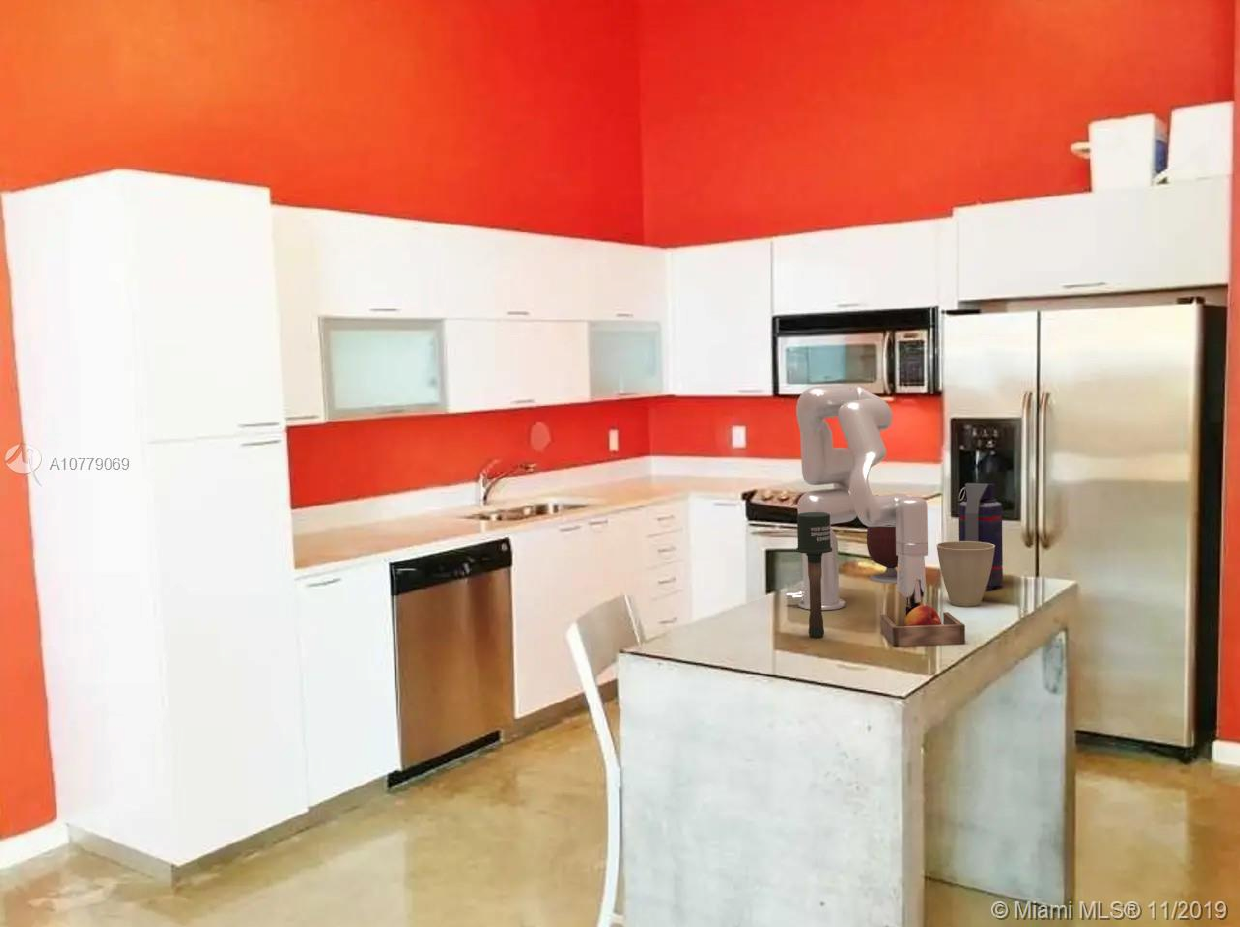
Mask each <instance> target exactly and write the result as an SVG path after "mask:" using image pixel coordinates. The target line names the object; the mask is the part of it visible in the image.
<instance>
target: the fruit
mask: <svg viewBox="0 0 1240 927" xmlns="http://www.w3.org/2000/svg"><path fill="white" fill-rule="evenodd" d="M921 625H942V621H941V618H940V616H939V614H938V613H937V612H936V610H935V609H934V608H933V607H931V606H929V605H924V604H923V605H922V604H921V605H920V606H918V607H916V608H914V609H913V610H911V611H910V612H909V613H908V614H907V616H906V615H905V619H904V626H921Z"/></svg>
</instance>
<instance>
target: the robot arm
mask: <svg viewBox="0 0 1240 927" xmlns="http://www.w3.org/2000/svg"><path fill="white" fill-rule="evenodd" d="M795 410H796V411H795V415H796V420H797V425H798V427H799V428H798V429H799V434H800V460H801V461H800V464H801V474H802V478H803V480H804V481H805V482H806V484H809V485H811V486H821V485H823V486H824V485H832V484H833V488H826V489H825V488H824V489H815V490H810V491H807V492H805V493H804V494H802V495H801V497H800V498H799V500H798V502H797V508H796V509H797V515H798V514H800V513H805V512H824V513H828V514H830V540H831V548H832V551H831V552H829V553H822V554H823V555H822V556H821V574H822V575H821V611H831V610H832V611H833V610H839V609H843V608H844V607H845V606H846V601H845V600H844V599H842V598H840V582H839V580H840V576H839V569H840V568H839V542H838V538H837V537H838V536H837V535H836V534H835V532H834V530H833V528H832V527H831V525H835V524H841V523H848V522H851V521H853V520H855V519H856V518H858V519H859V521H860V522H861V523H862V524H863V525H865V526H866V527H867V528H868V527H878V526H886V525H895V524H896V555H897V556H899V557H898V567H897V573H898V575H897V583H896V588H897V591H898V592H899V593H900V594H901V595H902V596H904V600H905V617H906V616H907V614H908V613H909V612H910V611H911V610H913V609H914V608H916V607H918V606H921V603H922V602H921V601H922V600H921V597H922V598H924V597H925V596H926V593H927V580H926V579H927V578H926V577H927V576H926V561H925V560H926V559H925V557H927V556H929V529H928V528H929V526H928V525H929V524H928V523H929V518H928V516H929V514H928V513H929V512H928V510H929V508H928V502H927V501H926V499H925V498H923V497H922V498H921V497H914V496H913V497H911V496H908V495H906V494H903V493H902V494H901V493H891V494H890V493H889V494H881V495H873V493H872V489H871V488H870V487H871V486H870V482H869V475H870V472H871V469H872V467H874V466H876V465H878V464H879V463H881V462H882V461H883V460H884V459H885V458H886V456H887V448H886V447H885V444H884V441H883V439H882V437H881V433H880V431H885V430H887V429H889V428H890V426H891V425H892V422H893V412H892V409H891V407H890V405H889V404H888V403H887V402H886V401H885V400H884V399H883V398H881V397H880V396H878V395H876V394H875V393H872V392H871V391H869V390H866V389H865V388H863V387H862V386H859V385H856V384H843V385H842V384H840V385H839V384H838V385H821V386H813V387H810V388H808V389H805V390H804V391H803V392H802V393H801V394H800V395H799V397H798V399H797V402H796V408H795ZM830 418H837V419H838V420H837V421H838V423H839V426H840V428H841V431H842V434H843V437H844V439H845V441H846V442H845V443H846V444H847V447H848V448H847V447H846V448H845V447H834V445H833V444H834V443H833V440H834V439H833V438H834V437H833V432H832V429H831V427H830V425H829V423H828V422H827V421H826V420H825V419H830ZM802 582H803V587H800V590H797V591H795V592H794V591H787V592H786V593H785V596H786V597H785V598H786V600H793V601H797V600H798V602H797V605H798V607H799V608H801V609H805V610H810V583H809V576H808V558H807V556H806V554H805V553H802Z"/></svg>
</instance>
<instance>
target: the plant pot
mask: <svg viewBox="0 0 1240 927" xmlns="http://www.w3.org/2000/svg"><path fill="white" fill-rule="evenodd" d="M994 549H995V545H993V544H990V543H985V542H975V541H959V540H953V541H943V542H939V543H936V551H937V557H938V563H939V568H940V573H941V577H942V579H943V583H944V587H945V590H946V592H947V596H948V598H949V601H950V603H951V604H952V605H954V606H957V607H978V606H980V605H981V602H982V600H983V598H984V595H985V594H986V593H985V592H986V591H987V590H986V587H987V583H988V580H989V576H990V572H991V567H992V562H993V556H994Z"/></svg>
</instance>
